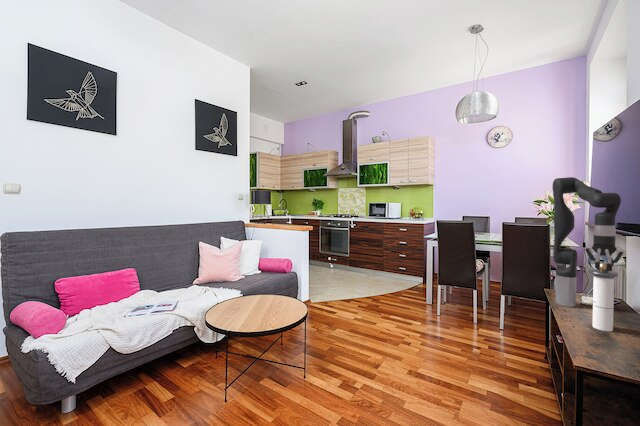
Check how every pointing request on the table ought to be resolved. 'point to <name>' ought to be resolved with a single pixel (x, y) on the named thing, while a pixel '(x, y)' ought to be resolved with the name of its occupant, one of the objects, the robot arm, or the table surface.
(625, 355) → the table surface
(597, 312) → the cylindrical container
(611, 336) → the table surface
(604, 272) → the lid
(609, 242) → the robot arm
